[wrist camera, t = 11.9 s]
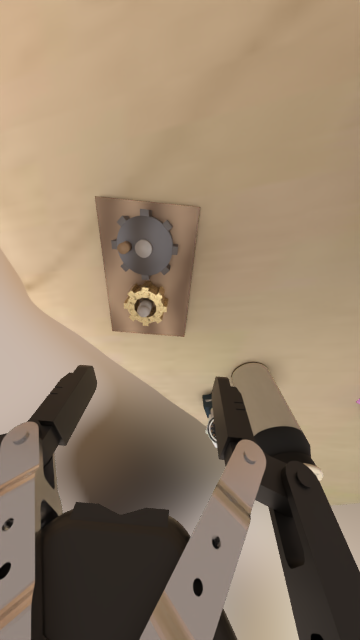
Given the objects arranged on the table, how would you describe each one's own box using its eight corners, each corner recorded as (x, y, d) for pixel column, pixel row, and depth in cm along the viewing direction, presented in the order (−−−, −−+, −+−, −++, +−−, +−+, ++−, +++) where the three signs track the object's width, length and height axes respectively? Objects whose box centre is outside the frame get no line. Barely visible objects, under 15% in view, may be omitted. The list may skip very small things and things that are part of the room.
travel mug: (231, 363, 37) (265, 468, 22) (270, 359, 37) (334, 465, 21) (231, 388, 41) (259, 491, 26) (266, 385, 41) (317, 490, 25)
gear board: (199, 207, 23) (203, 204, 18) (184, 332, 33) (184, 354, 28) (99, 197, 23) (73, 191, 17) (115, 326, 33) (101, 348, 28)
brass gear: (169, 282, 27) (167, 289, 24) (167, 318, 30) (165, 327, 28) (128, 278, 27) (122, 285, 24) (130, 314, 30) (125, 324, 27)
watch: (223, 386, 41) (235, 437, 32) (229, 406, 45) (241, 457, 35) (200, 390, 42) (205, 441, 32) (207, 410, 46) (213, 460, 36)
